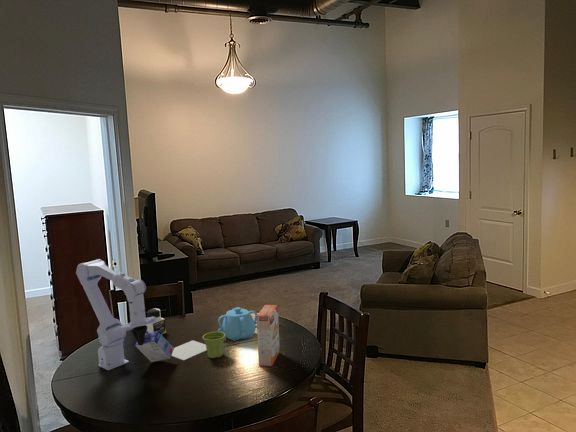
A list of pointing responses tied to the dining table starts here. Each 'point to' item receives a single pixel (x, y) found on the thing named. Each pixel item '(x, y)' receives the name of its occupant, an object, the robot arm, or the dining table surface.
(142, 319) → the robot arm
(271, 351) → the cracker box
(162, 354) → the ink cartridge box
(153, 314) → the medicine bottle
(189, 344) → the mat
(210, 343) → the plant pot
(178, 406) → the dining table surface
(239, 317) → the light blue teapot
